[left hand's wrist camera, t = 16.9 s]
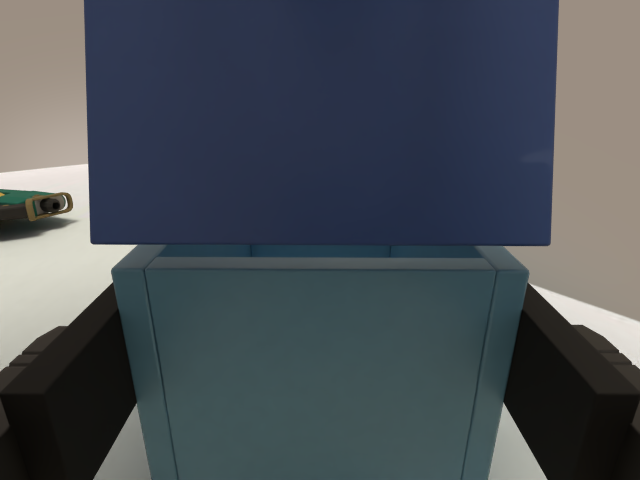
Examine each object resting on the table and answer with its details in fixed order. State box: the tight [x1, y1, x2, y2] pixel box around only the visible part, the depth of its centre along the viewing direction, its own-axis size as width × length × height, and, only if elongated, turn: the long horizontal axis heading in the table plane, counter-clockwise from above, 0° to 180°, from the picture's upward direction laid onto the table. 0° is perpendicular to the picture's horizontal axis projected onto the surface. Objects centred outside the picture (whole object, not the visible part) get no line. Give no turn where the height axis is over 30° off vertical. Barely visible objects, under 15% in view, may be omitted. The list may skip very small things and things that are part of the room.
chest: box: [111, 245, 529, 480], centre depth 17 cm, size 14×9×9 cm, turn 0°
